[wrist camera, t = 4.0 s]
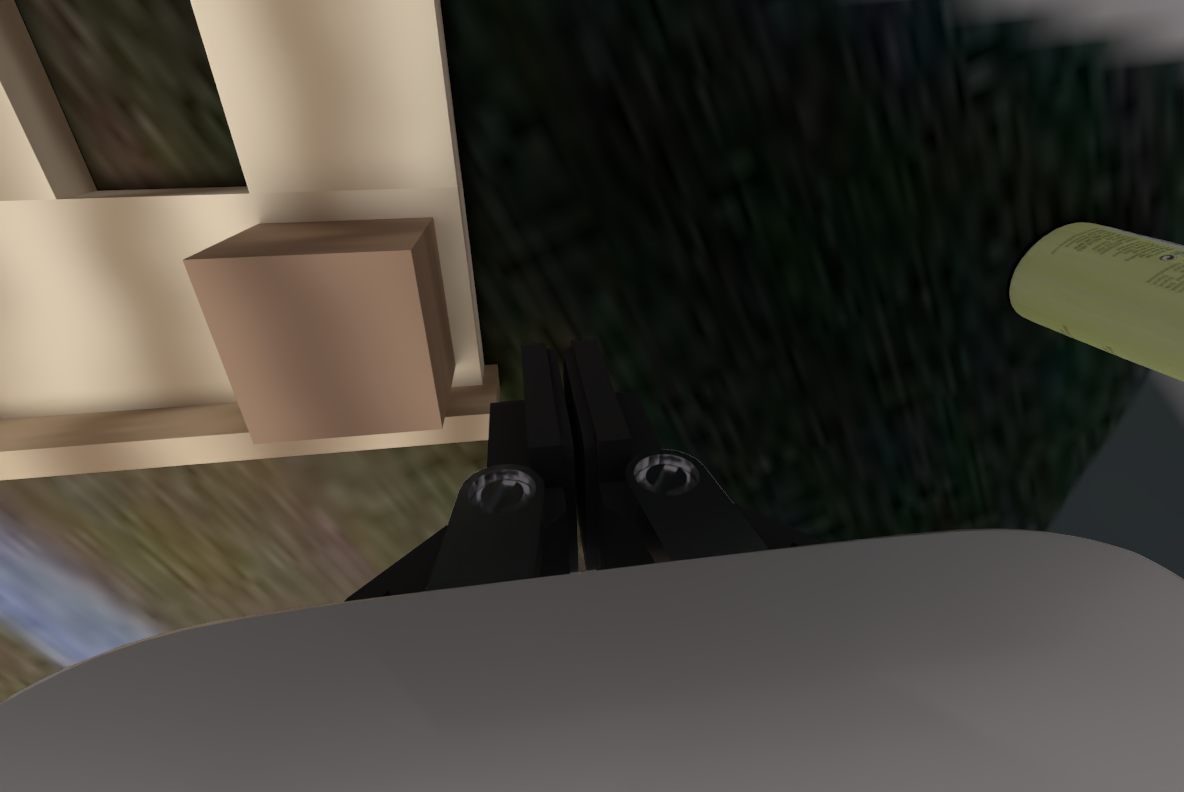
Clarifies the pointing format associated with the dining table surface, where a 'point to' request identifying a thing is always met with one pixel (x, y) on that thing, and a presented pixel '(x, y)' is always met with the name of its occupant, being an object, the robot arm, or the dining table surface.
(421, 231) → the walnut block
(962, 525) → the dining table surface
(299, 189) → the trap tray
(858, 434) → the dining table surface
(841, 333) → the dining table surface
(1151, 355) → the tube
